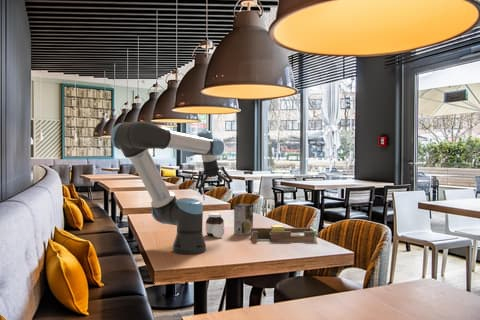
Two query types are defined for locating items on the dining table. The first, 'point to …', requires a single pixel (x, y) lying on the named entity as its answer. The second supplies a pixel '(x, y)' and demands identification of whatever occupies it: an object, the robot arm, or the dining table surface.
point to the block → (277, 228)
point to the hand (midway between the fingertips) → (216, 197)
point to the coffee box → (243, 219)
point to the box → (284, 235)
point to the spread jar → (215, 225)
